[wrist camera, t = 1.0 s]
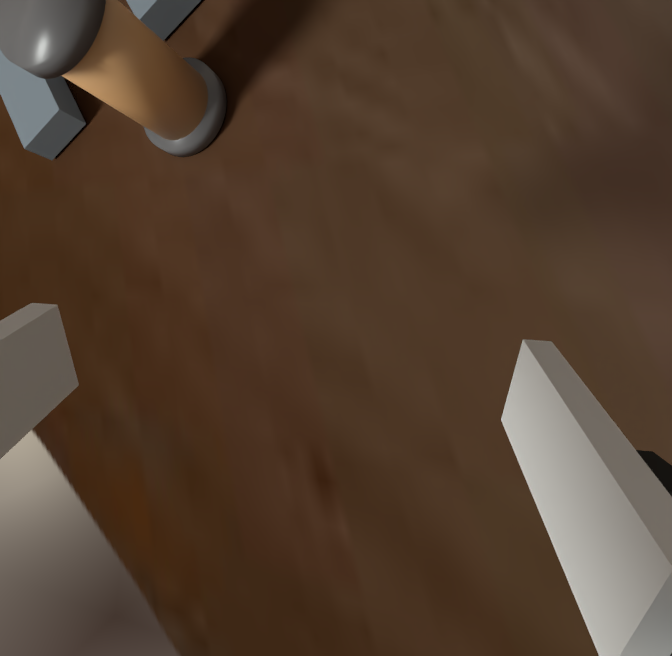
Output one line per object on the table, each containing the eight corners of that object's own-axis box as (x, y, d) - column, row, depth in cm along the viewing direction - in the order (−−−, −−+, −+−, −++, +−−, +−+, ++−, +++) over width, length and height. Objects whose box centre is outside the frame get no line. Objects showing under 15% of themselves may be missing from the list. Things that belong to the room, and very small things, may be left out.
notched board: (150, -90, 37) (126, -119, 35) (204, -4, 35) (182, -29, 32) (14, 76, 43) (-15, 60, 40) (52, 160, 40) (24, 148, 38)
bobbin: (201, 48, 34) (55, -96, 23) (241, 114, 33) (105, -8, 22) (141, 110, 36) (-20, 5, 25) (176, 175, 35) (20, 93, 24)
